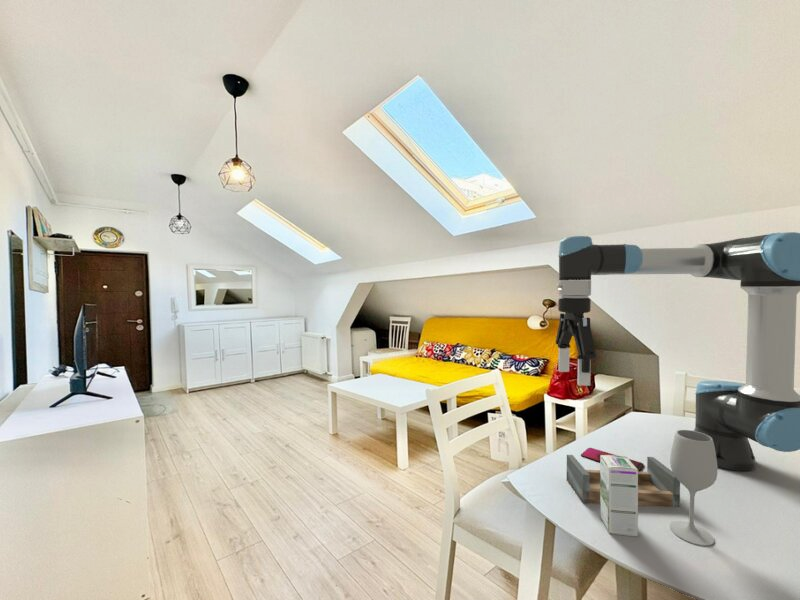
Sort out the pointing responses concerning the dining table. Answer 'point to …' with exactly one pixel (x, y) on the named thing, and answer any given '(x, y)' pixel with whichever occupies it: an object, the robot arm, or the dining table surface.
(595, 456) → the smartphone
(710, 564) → the dining table surface
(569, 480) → the track
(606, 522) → the syrup box
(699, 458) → the wineglass
